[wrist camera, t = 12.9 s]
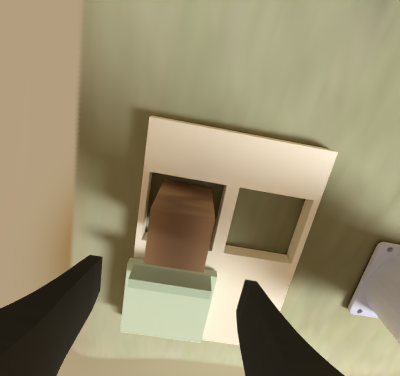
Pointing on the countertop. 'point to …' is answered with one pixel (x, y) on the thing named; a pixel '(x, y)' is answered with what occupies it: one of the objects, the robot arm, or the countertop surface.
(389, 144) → the countertop surface
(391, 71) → the countertop surface
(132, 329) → the lid
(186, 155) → the puzzle board
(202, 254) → the walnut block
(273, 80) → the countertop surface
